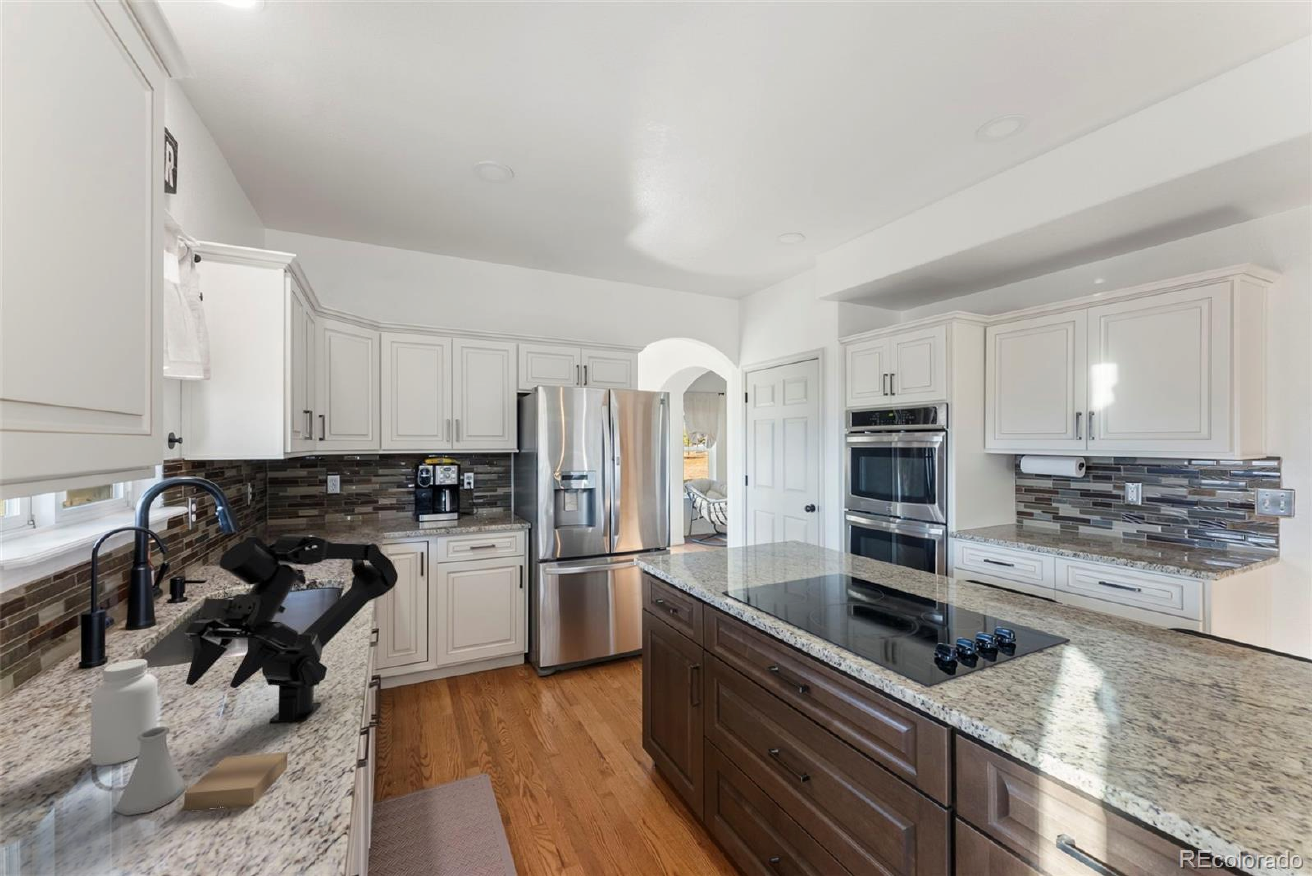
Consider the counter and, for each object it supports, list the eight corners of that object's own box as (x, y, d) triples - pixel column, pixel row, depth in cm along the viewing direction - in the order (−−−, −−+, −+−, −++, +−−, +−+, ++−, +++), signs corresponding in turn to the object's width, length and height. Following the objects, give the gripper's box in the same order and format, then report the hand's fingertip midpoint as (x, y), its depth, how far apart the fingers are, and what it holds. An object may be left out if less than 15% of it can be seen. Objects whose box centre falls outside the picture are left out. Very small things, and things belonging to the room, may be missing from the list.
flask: (151, 818, 73) (153, 746, 74) (101, 817, 73) (103, 745, 74) (197, 785, 81) (199, 719, 81) (152, 784, 81) (154, 719, 81)
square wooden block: (225, 775, 83) (225, 756, 84) (286, 771, 85) (287, 752, 85) (183, 814, 75) (184, 793, 75) (253, 808, 76) (253, 787, 76)
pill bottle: (90, 753, 89) (93, 664, 89) (156, 735, 94) (158, 651, 95) (87, 774, 83) (90, 679, 83) (156, 753, 89) (159, 664, 89)
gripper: (190, 575, 92) (122, 667, 82) (276, 575, 88) (215, 672, 78) (239, 602, 100) (182, 689, 90) (320, 604, 96) (270, 694, 86)
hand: (210, 686), depth 85 cm, fingers open, 9 cm apart
